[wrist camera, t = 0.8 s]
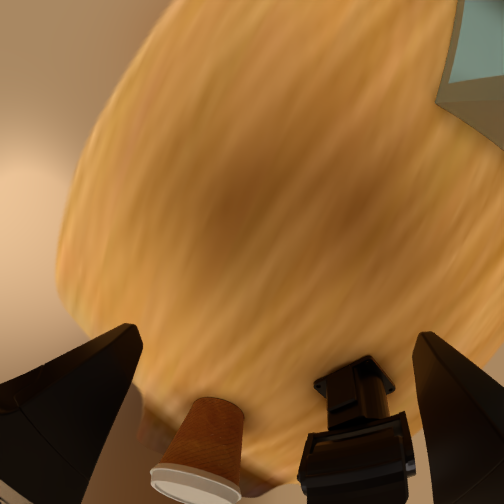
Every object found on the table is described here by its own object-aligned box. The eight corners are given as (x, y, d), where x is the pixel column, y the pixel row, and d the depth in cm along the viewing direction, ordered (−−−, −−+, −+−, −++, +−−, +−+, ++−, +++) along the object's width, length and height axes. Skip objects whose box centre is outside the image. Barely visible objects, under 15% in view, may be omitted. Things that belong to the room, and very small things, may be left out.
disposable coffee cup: (267, 403, 29) (250, 500, 19) (246, 438, 34) (228, 515, 23) (184, 377, 30) (144, 469, 19) (177, 417, 34) (147, 491, 23)
